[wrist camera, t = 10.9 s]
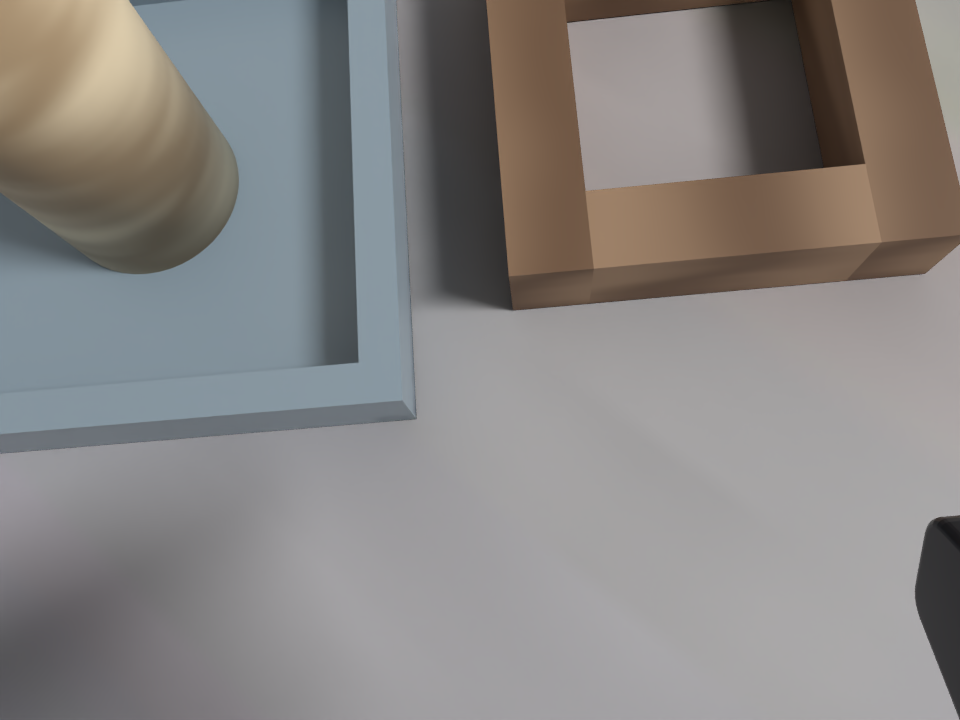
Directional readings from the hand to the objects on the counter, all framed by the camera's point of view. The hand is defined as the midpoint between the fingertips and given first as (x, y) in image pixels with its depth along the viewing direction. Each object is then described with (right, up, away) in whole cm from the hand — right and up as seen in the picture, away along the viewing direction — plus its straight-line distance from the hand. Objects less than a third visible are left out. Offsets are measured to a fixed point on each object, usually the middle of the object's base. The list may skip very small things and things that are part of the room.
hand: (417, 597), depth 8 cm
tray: (-8, +7, +17) cm, 20 cm away
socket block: (+6, +9, +16) cm, 19 cm away
